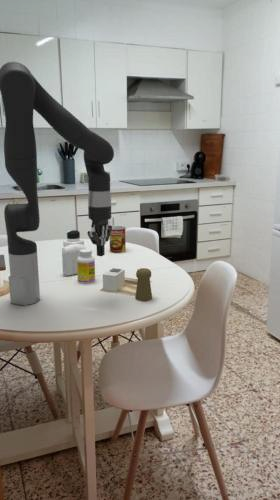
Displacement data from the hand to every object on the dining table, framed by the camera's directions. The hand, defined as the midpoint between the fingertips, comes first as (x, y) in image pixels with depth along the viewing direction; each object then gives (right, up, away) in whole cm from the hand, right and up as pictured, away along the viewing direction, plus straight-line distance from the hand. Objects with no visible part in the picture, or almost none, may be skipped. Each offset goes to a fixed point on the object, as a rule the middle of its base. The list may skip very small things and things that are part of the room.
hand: (100, 255), depth 138 cm
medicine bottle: (-18, -1, +58) cm, 61 cm away
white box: (+4, -12, +13) cm, 18 cm away
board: (+8, -12, +15) cm, 21 cm away
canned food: (+2, +1, +66) cm, 66 cm away
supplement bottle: (-7, -11, +20) cm, 24 cm away
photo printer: (-14, -8, +31) cm, 35 cm away
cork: (+15, -15, +3) cm, 21 cm away
